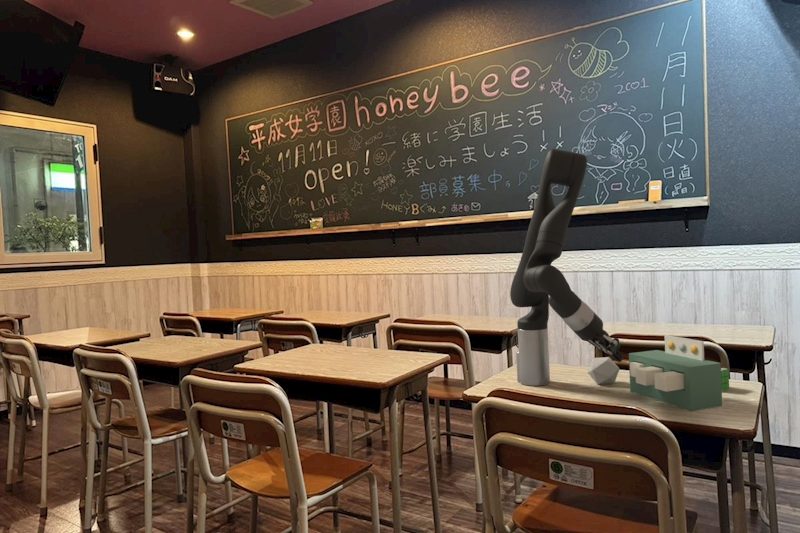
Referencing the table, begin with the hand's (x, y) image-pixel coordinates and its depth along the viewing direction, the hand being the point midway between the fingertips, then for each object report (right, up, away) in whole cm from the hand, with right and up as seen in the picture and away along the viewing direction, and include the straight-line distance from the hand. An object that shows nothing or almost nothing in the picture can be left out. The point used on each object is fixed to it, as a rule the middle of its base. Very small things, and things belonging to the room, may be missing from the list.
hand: (620, 359), depth 155 cm
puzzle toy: (+28, -9, +4) cm, 30 cm away
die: (+1, -10, +17) cm, 20 cm away
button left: (+7, -5, +2) cm, 9 cm away
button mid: (+6, -5, -6) cm, 10 cm away
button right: (+8, -5, -13) cm, 16 cm away
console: (+13, -10, -3) cm, 17 cm away
